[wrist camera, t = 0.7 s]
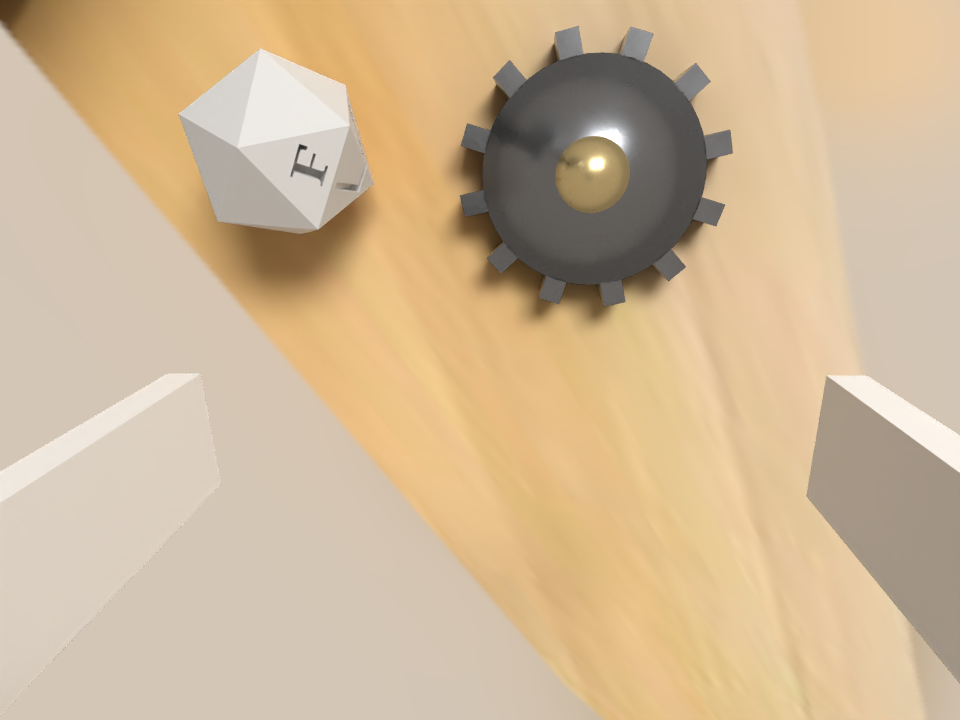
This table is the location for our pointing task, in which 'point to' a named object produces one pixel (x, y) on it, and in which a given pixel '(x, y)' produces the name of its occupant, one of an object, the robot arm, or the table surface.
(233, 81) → the die
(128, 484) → the robot arm
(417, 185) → the table surface
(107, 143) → the table surface
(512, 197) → the gear plate
